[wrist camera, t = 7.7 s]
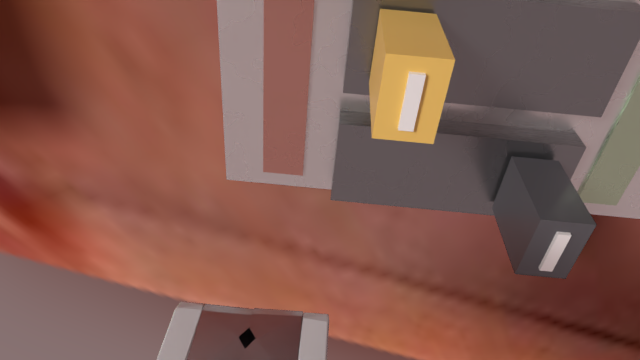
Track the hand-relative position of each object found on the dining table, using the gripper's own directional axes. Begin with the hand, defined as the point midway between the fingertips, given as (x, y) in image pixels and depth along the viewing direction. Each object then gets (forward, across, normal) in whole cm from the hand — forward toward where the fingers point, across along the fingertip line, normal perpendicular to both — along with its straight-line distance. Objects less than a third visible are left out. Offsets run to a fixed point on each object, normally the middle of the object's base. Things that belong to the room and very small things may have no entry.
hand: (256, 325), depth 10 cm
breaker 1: (+16, -4, 0) cm, 16 cm away
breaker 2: (+16, -12, +7) cm, 21 cm away
